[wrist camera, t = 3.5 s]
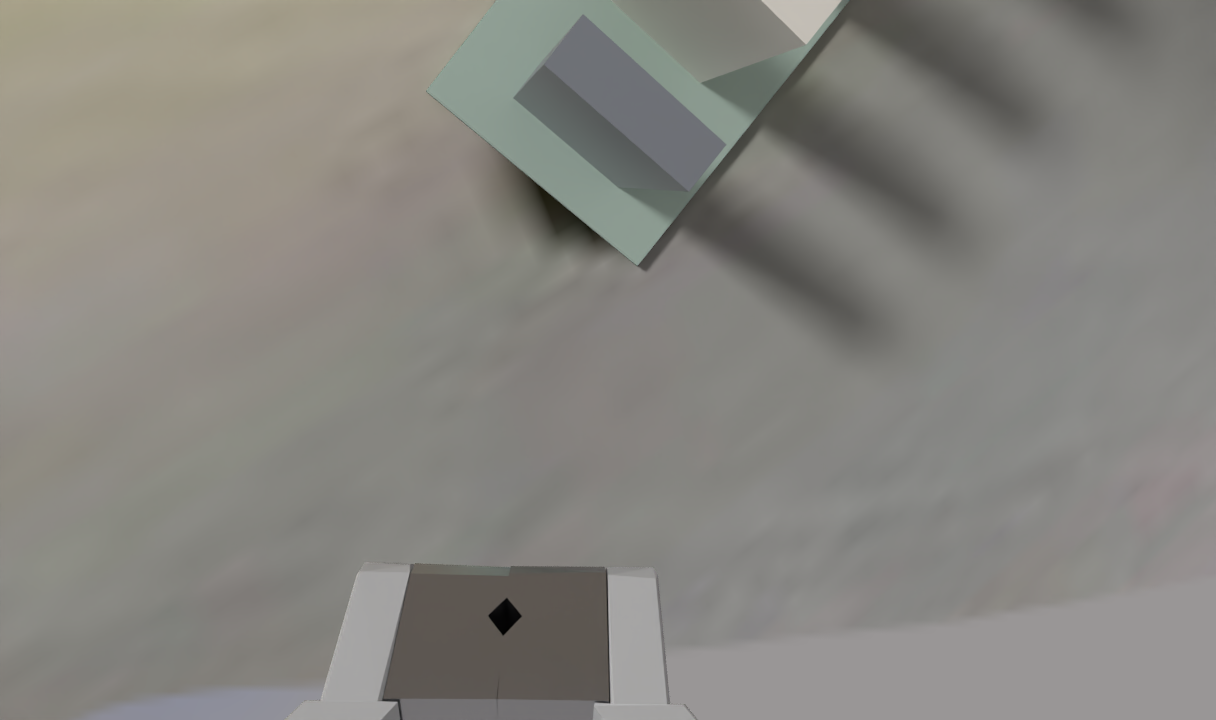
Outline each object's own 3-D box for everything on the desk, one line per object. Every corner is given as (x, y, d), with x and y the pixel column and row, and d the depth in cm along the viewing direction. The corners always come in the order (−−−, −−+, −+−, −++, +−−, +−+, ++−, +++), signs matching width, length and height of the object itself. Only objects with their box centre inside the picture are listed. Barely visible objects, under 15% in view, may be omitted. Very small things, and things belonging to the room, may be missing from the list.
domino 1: (617, 187, 33) (688, 191, 24) (512, 98, 32) (543, 64, 22) (644, 153, 33) (726, 144, 24) (540, 62, 32) (583, 13, 22)
